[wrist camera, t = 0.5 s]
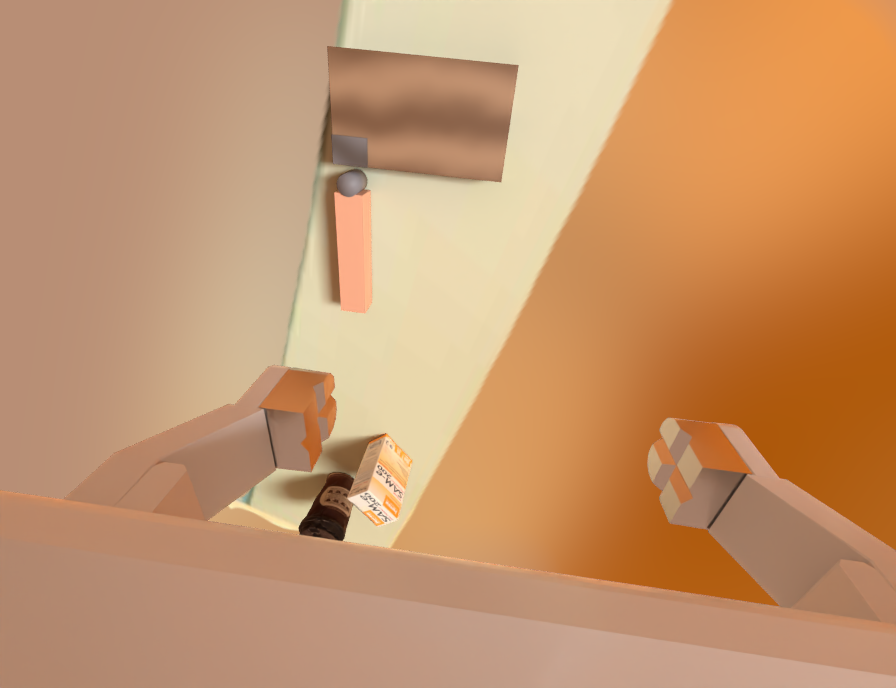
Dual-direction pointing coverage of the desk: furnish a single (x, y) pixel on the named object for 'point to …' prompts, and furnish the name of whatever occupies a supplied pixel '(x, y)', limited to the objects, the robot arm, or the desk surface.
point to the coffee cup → (330, 509)
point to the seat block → (420, 113)
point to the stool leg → (354, 241)
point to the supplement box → (381, 481)
